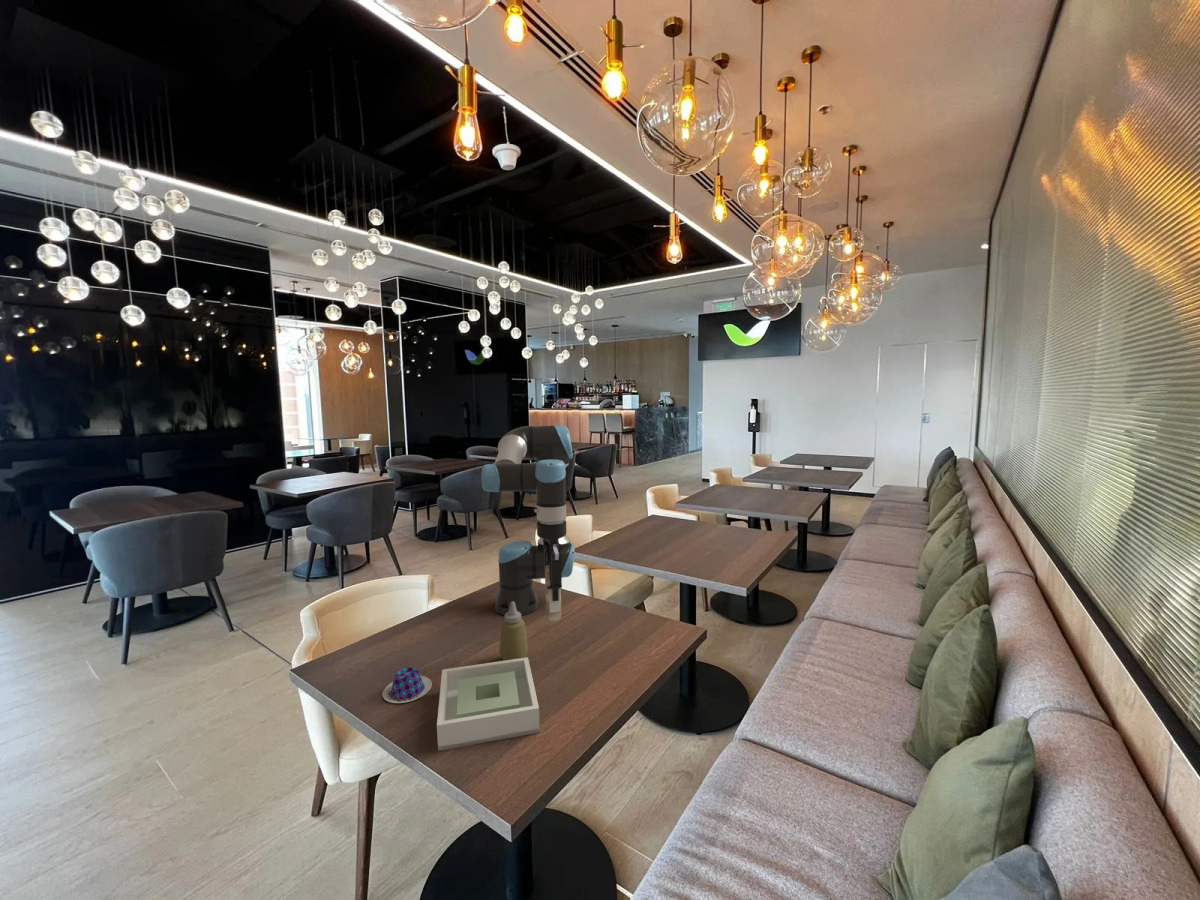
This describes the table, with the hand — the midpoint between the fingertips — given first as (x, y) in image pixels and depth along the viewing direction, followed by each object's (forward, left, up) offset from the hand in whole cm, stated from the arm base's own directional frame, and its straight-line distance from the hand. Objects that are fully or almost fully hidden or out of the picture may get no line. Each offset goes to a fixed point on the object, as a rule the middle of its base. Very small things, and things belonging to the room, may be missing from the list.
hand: (553, 607), depth 129 cm
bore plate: (+7, -18, -21) cm, 28 cm away
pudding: (-7, -38, -21) cm, 44 cm away
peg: (0, 0, -3) cm, 3 cm away
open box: (+7, -18, -21) cm, 28 cm away
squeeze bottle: (-13, -10, -21) cm, 26 cm away
